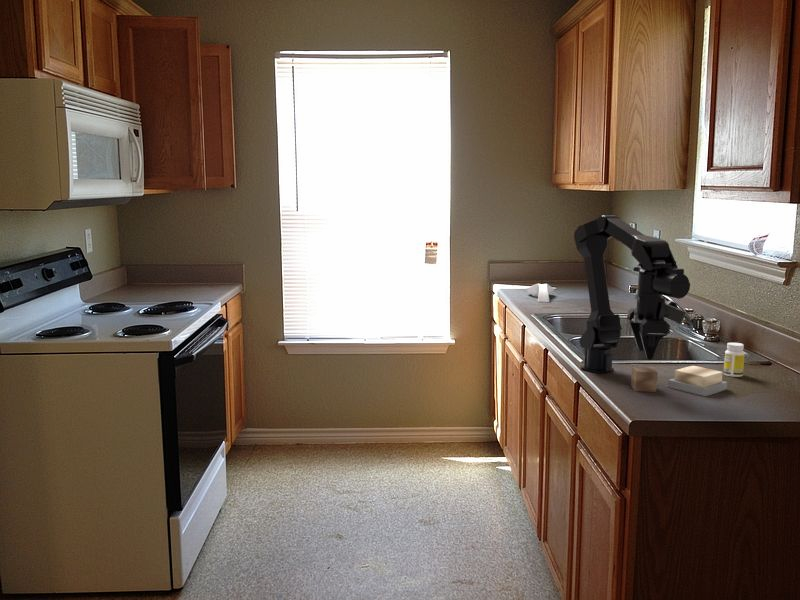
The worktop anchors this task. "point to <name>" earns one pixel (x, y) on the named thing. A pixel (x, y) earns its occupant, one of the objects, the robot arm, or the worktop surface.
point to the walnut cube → (644, 378)
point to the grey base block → (697, 387)
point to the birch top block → (698, 376)
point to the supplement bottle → (734, 360)
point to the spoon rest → (541, 291)
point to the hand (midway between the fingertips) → (645, 355)
